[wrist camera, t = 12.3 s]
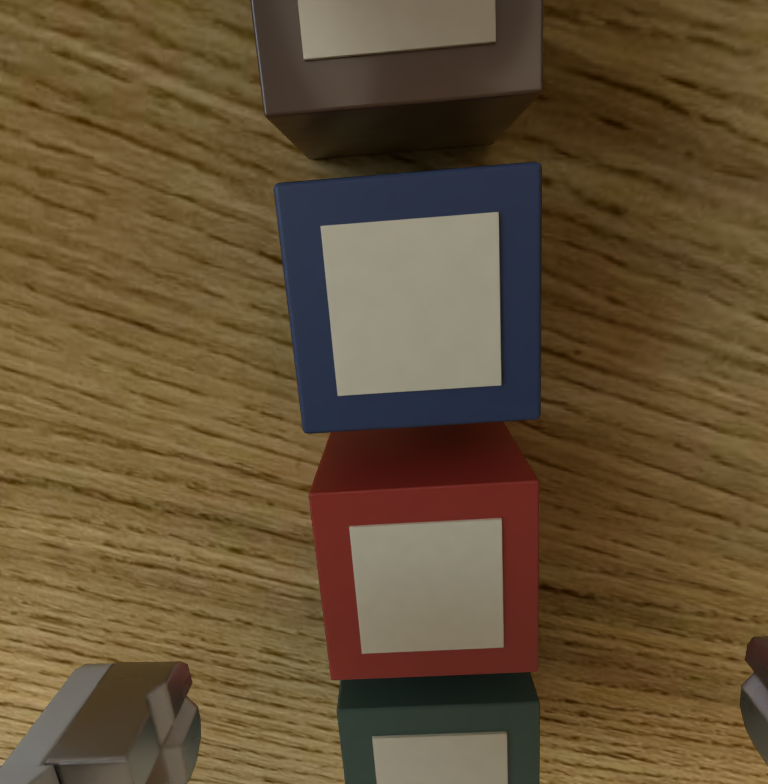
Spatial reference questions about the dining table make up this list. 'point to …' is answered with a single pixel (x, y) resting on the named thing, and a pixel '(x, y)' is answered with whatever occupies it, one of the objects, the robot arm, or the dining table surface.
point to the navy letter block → (415, 296)
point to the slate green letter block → (440, 729)
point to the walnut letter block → (396, 71)
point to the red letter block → (427, 552)
